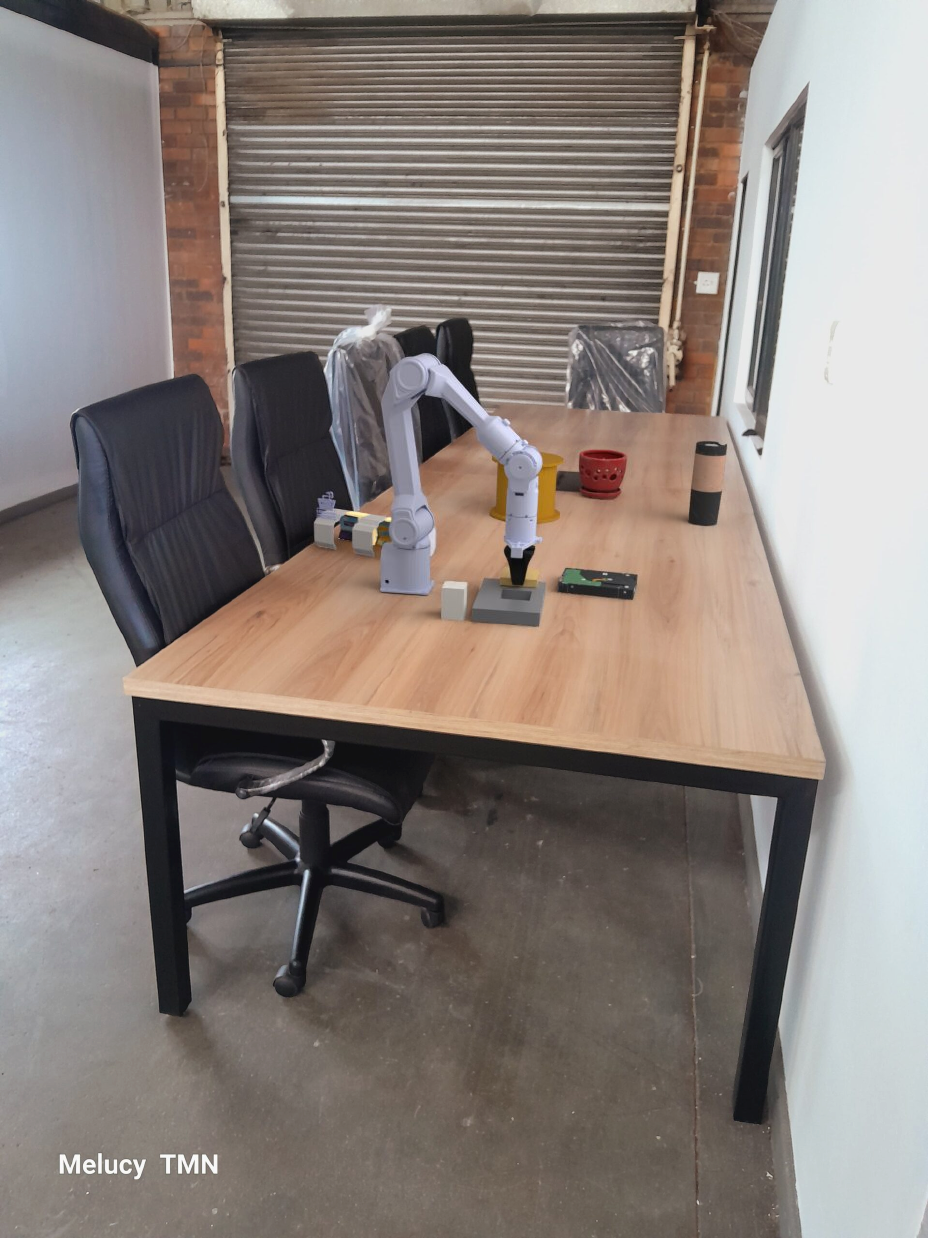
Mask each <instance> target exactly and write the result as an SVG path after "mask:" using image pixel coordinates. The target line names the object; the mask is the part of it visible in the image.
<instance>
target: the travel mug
mask: <svg viewBox="0 0 928 1238" xmlns="http://www.w3.org/2000/svg"><path fill="white" fill-rule="evenodd" d="M727 450H728V443H725V444H721V443H720V442H719V441H713V440H712V441H711V440H699V441H697V442H696V444H695V451H694V458H693V459H694V460H693V466H692V467H693V469H692V475H691V483H690V494H689V495H690V496H689V508H688V523H690V524H692V525H696V526H702V527H713V526H716V525H717V524H718V519H719V515H720V514H719V513H720V509H721V508H720V506H721V500H722V493H723V486H724V479H725V478H724V477H725V468H726V461H727V459H726V458H727Z"/></svg>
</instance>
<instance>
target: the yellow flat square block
mask: <svg viewBox="0 0 928 1238" xmlns="http://www.w3.org/2000/svg"><path fill="white" fill-rule="evenodd" d="M539 578H540V568H529V567H528V568H527V573H526V578H525V581H524V584H523V586H522V587H536V588H537V584H538V582H539ZM499 579H500V585H507V586H520V585H512V581H511V575H510V568H509V566H504V567H503V569H502V571H501V573H500V577H499Z"/></svg>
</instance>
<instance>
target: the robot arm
mask: <svg viewBox="0 0 928 1238" xmlns="http://www.w3.org/2000/svg"><path fill="white" fill-rule="evenodd" d="M422 395H425V396H429V397H435V398H439V399H443V400H445V401H446V402H447V403H448V404H449V405H450V406H451V407H453V408H454V409H455V410H456V411H457V413H459V415H461V416H462V417H463V418H464V419H465V420H466V421H468V423H469V424H471V425H472V427H474V428H475V433H476V440H477V441H478V442H479V443H480V444H481V445H482V446H483V448H485V449H486V450H487V451H488V452H489V454H491V456H492V455H493V456H494V457H495V458H496V459H497V460H498V461H499V462H500V463H501V464H503V465H505V466H504V471H505V474H506V476H507V477H508V489H507V502H506V521H505V526H504V527H505V528H504V535H503V541H504V543H505V544H506V545H505V546H504V547H503V553H504V554H503V555H504V556H505V559H506V561H507V564H508V567H509V568H510V575H511V581H512V585H520V586H523V584H524V581H525V578H526V573H527V568H529V564H530V562H531V560H532V558H533V556H534V555H535V551H536V546H535V545H536V544H541V543H542V542H543V537H541V536H537V524H538V523H537V506H538V476H536V475H537V474H538V473H539V471H540V470H541V467H542V457H541V455H540V453H539V452H540V451H539V450H538V448H537V447H535V446H533V445H531V444H530V445H529V442H528V441H527V440H526V439H522V438H521V437H520V436H519V435H518V434H517V433H516V432H515V431H514V429H512V427H510V426H511V422H510V421H509V420H508V419H507V418H504V419H503V418H501V416H499V415H489V414H488V413H487V411H486V410H485V409H484V408H483V407H482V405H480V403H478V401H477V400H476V399H475V398H474V397H473V395H472V394H471V393H470V392H469V391H468V390H467V388H465V386H464V385H463V384H462V383H461V382H460V381H459V379H457V377H456V376H455V375H454V374H453V372H452V371H451V369H449V367H448V366H447V365H444V363H441V362H440V360H439V359H438V358H437V356H435V355H433V354H431V353H428V352H427V353H425V352H424V353H421V354H418V355H415V356H414V355H413V356H406V357H403V358H402V359H400V360H399V361H398V362H397V363H396V364H395V365H394V366H393V367H392V368H391V370H390V371H389V379H388V380H387V384H386V387H385V389H384V392H383V394H382V397H381V401H380V404H381V405H380V406H381V412H382V413H381V414H382V420H383V426H384V434H385V441H386V448H387V453H388V461H389V468H390V469H389V470H390V475H391V482H392V489H393V490H392V491H393V496H394V497H393V500H392V503H391V504H392V505H391V508H390V515H391V522H390V525H389V535H390V537H391V539H392V541H393V542H392V543H384V544H383V546H381V547H382V548H381V552H380V588H379V592H383V593H395V594H408V595H409V594H410V595H423V596H428V595H430V592H431V591H432V588H433V587H434V585H435V583H436V582H435V580H434V579H433V580H431V557H430V550H431V545H430V544H431V541H430V539H429V533H430V532H431V531H432V530H433V528H434V526H435V521H436V520H435V516H434V513H433V512H432V511H431V510H430V507H429V504H428V499H427V497H426V496H425V494H424V493H423V492H422V491H423V489H422V485H421V478H420V468H419V462H418V453H417V447H416V446H417V445H416V439H415V432H414V426H413V423H414V422H413V417H412V408H413V406H414V405H415V404H416V402H417V401H418V400H419V399H420V398H421V397H422ZM535 476H536V477H535ZM534 544H535V545H534Z"/></svg>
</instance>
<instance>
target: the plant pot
mask: <svg viewBox="0 0 928 1238" xmlns="http://www.w3.org/2000/svg"><path fill="white" fill-rule="evenodd" d="M627 461H628V455H627V454H626V453H623V452H621V451H617V450H612V449H597V448H596V449H587V450H586V449H585V450H583V451H581V452H580V453H579V456H578V474H579V480H580V483H581V485H580V486H579V493H581V494H582V495H583V496H585V497H588V498H590V499H591V498H592V499H600V500H608V499H613V498H618V496H620V495H621V493H622V489H621V488H620V487H621V485H622V483H623V481H624V478H625V474H626V469H627V463H628V462H627Z"/></svg>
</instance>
